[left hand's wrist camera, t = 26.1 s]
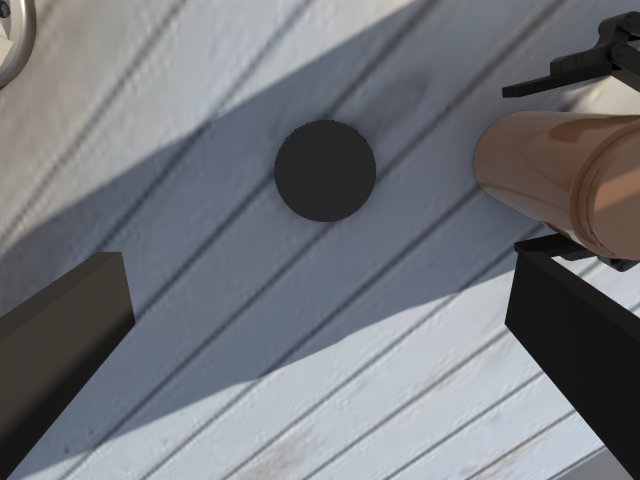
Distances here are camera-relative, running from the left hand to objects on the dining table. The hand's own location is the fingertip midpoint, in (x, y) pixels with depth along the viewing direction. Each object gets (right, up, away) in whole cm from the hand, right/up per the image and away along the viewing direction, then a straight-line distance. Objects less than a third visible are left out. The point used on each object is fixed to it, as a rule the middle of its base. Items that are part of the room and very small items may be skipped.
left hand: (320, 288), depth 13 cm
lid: (0, +8, +23) cm, 25 cm away
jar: (+19, +10, +24) cm, 32 cm away
